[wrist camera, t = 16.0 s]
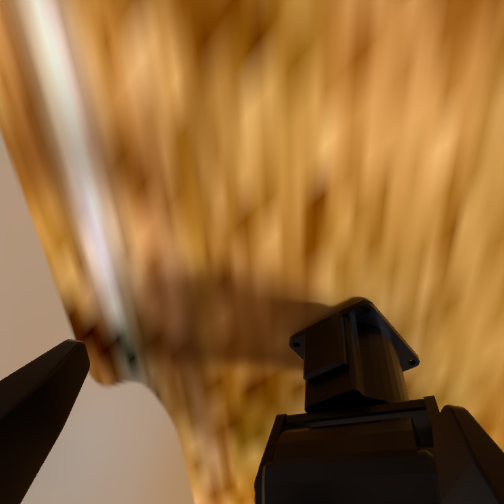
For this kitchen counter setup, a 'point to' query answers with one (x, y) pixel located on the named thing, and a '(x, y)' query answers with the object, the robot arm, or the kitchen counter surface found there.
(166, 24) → the kitchen counter surface
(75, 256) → the kitchen counter surface
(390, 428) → the robot arm
